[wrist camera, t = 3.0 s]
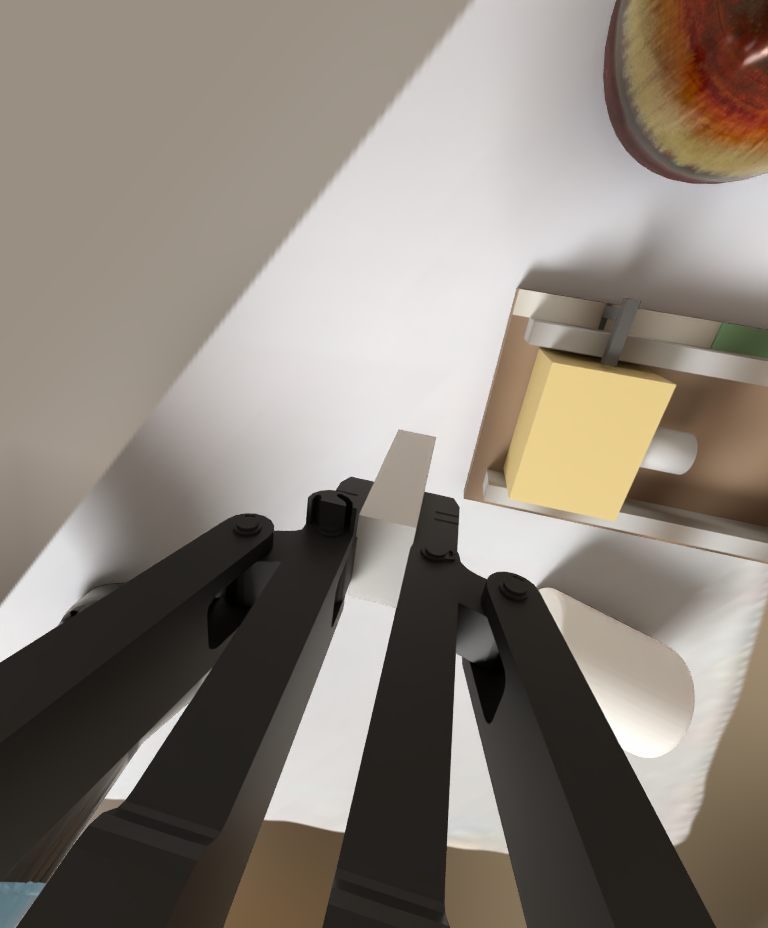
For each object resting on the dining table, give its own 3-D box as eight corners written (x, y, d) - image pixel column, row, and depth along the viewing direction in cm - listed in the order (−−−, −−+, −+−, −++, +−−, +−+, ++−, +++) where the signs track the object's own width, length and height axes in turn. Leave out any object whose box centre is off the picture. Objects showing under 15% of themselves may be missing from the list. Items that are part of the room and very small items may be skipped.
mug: (552, 566, 33) (575, 647, 26) (664, 623, 33) (719, 719, 26) (472, 659, 38) (474, 748, 31) (570, 707, 39) (594, 807, 31)
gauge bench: (463, 490, 32) (463, 547, 25) (516, 288, 26) (533, 293, 19) (811, 565, 29) (909, 647, 23) (958, 361, 23) (1147, 395, 17)
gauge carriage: (503, 468, 29) (509, 499, 25) (557, 287, 24) (575, 290, 20) (641, 496, 28) (669, 533, 24) (725, 315, 23) (779, 323, 19)
